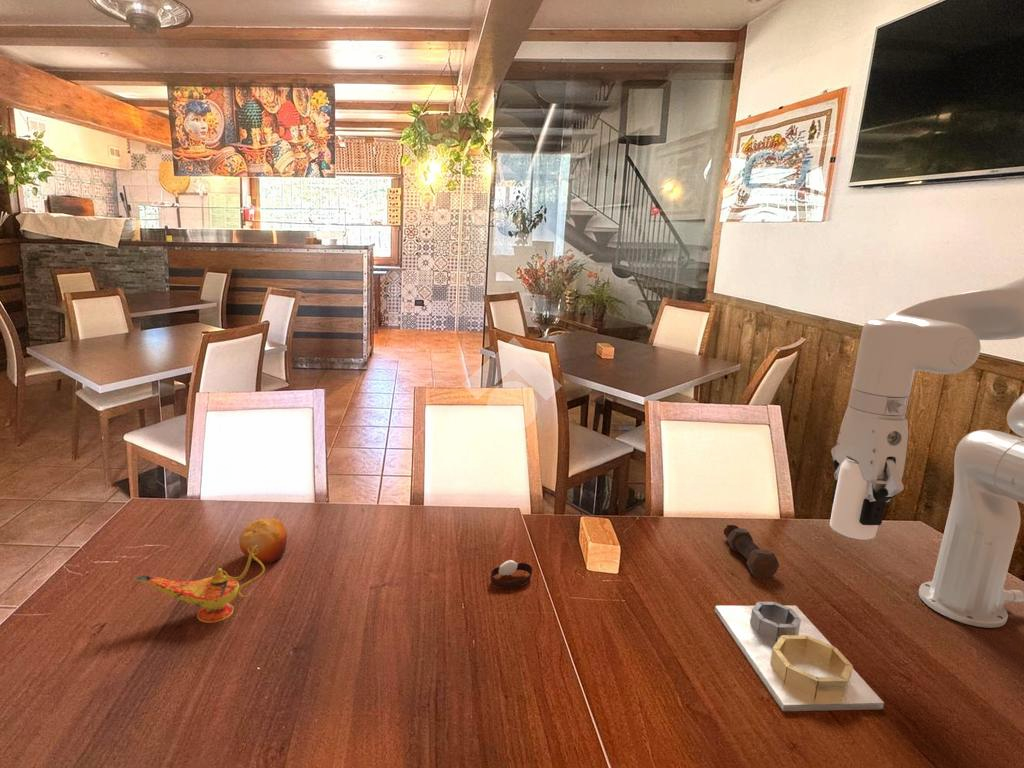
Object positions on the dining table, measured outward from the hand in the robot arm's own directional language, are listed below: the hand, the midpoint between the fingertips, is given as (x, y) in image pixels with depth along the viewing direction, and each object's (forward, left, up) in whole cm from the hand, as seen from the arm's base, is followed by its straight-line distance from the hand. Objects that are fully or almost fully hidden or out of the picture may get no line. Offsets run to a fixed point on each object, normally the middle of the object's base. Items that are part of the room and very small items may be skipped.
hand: (855, 512), depth 96 cm
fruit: (+96, -20, -20) cm, 100 cm away
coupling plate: (+12, +8, -20) cm, 24 cm away
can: (0, 0, -3) cm, 3 cm away
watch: (+52, -12, -20) cm, 57 cm away
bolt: (+5, -21, -20) cm, 29 cm away
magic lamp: (+100, -3, -20) cm, 102 cm away
